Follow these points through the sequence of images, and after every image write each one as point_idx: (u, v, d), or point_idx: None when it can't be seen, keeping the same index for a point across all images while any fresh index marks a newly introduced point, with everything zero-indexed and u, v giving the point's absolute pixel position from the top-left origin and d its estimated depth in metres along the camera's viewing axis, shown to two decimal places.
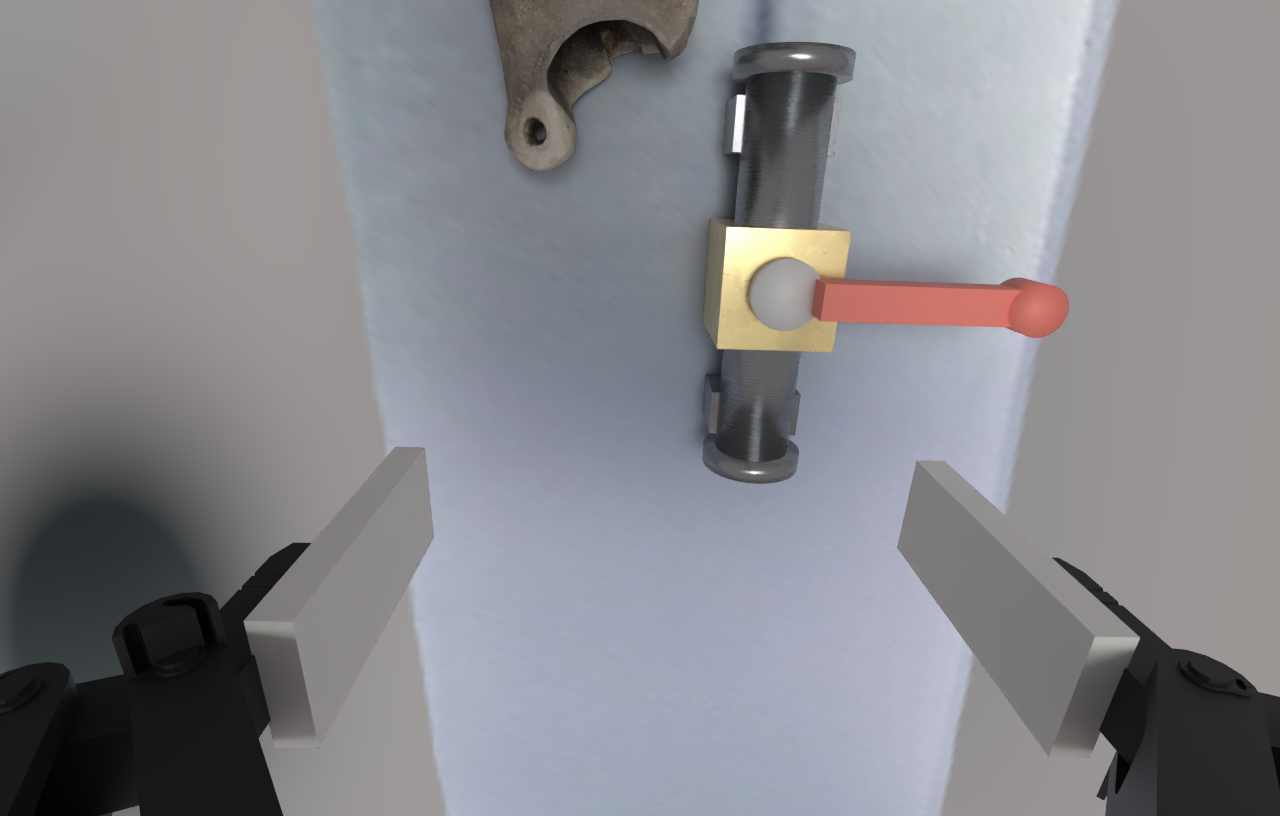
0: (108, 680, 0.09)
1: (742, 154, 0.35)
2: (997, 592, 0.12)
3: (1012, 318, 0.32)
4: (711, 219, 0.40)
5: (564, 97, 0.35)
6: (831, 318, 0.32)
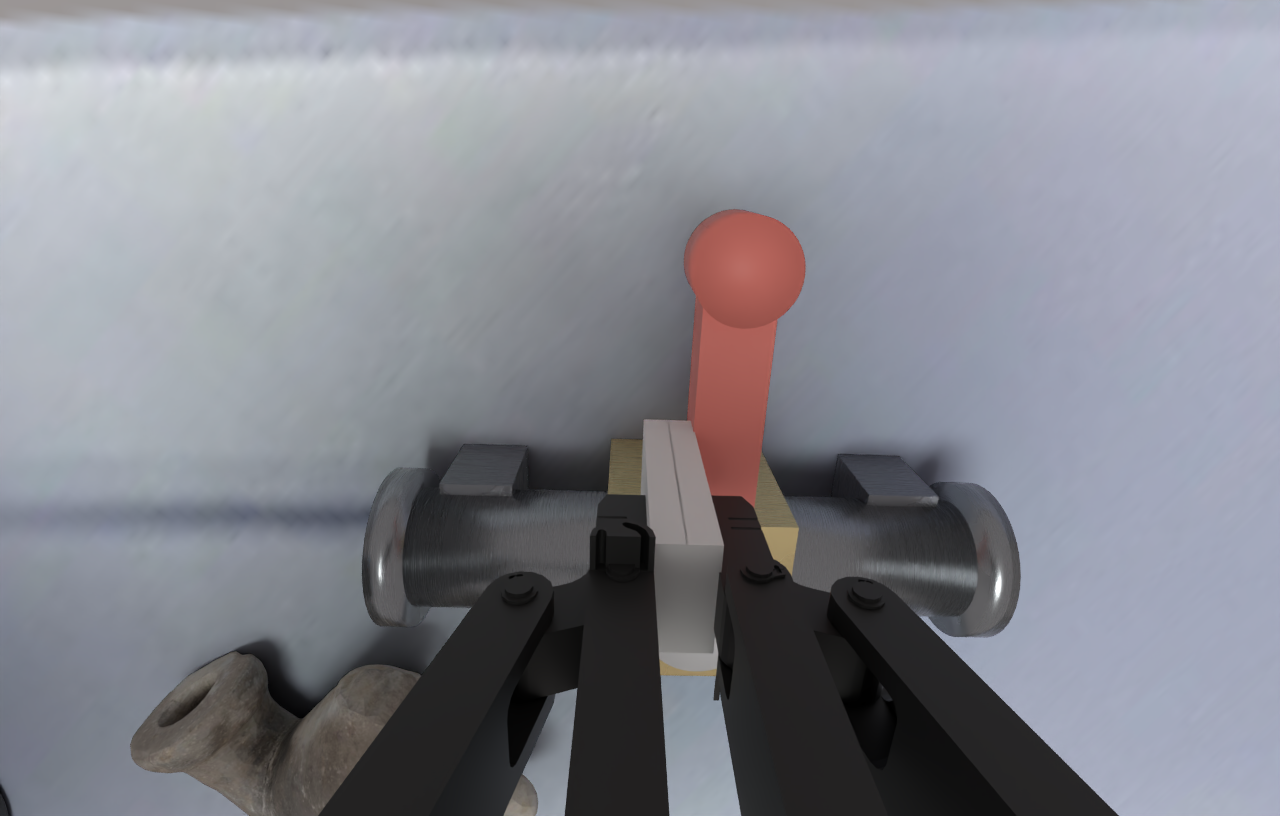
0: (556, 588, 0.11)
1: None
2: None
3: (760, 323, 0.16)
4: None
5: None
6: None
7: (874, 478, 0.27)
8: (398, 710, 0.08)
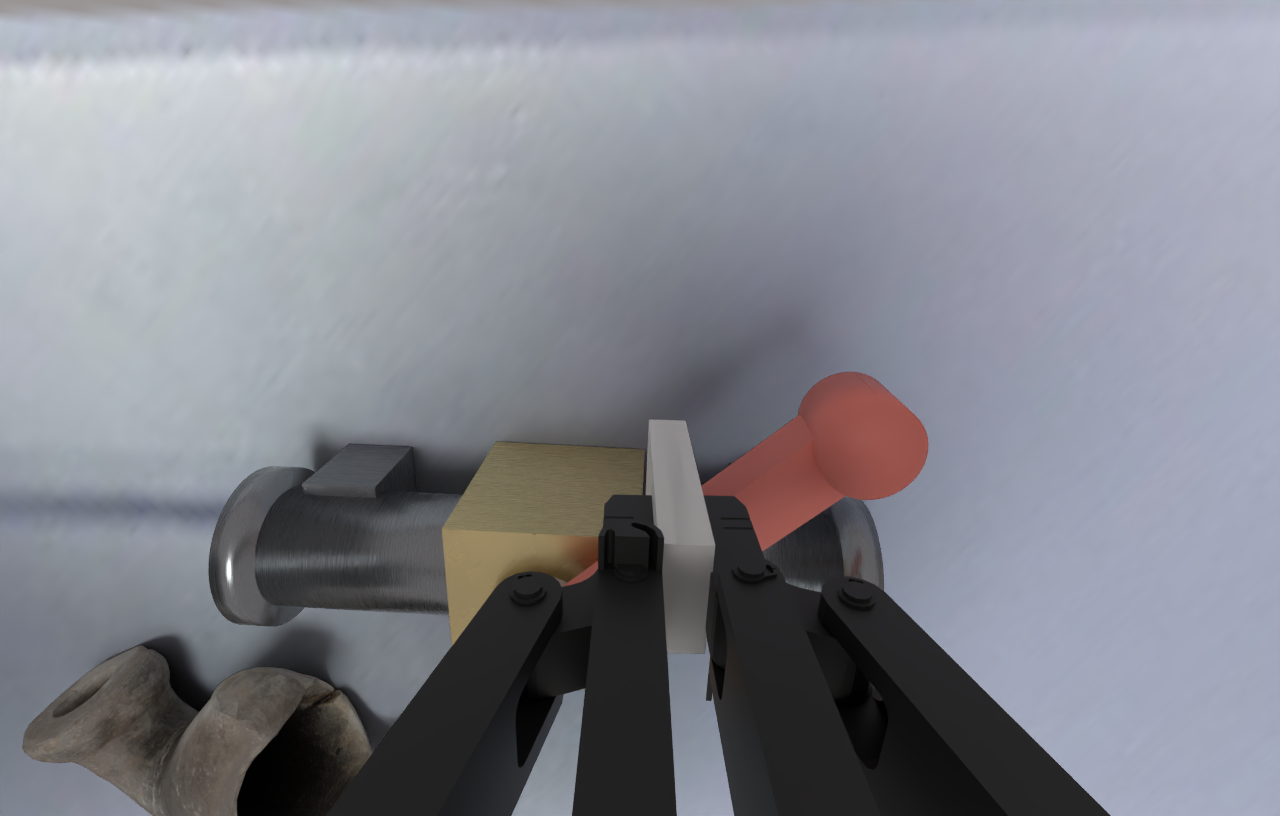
0: (565, 588, 0.11)
1: None
2: None
3: (838, 488, 0.16)
4: None
5: (356, 772, 0.32)
6: None
7: None
8: (407, 709, 0.08)
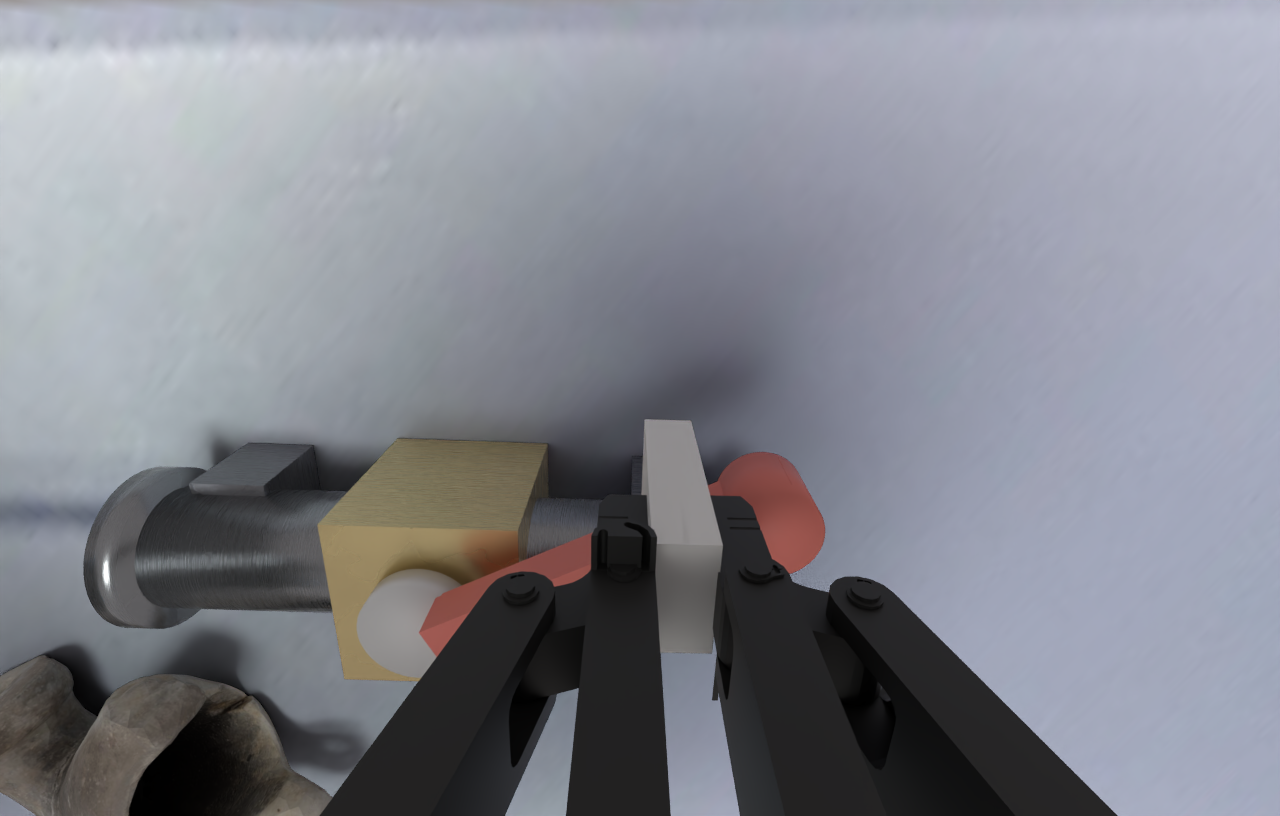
0: (558, 588, 0.11)
1: None
2: None
3: None
4: None
5: (266, 778, 0.32)
6: None
7: None
8: (399, 710, 0.08)
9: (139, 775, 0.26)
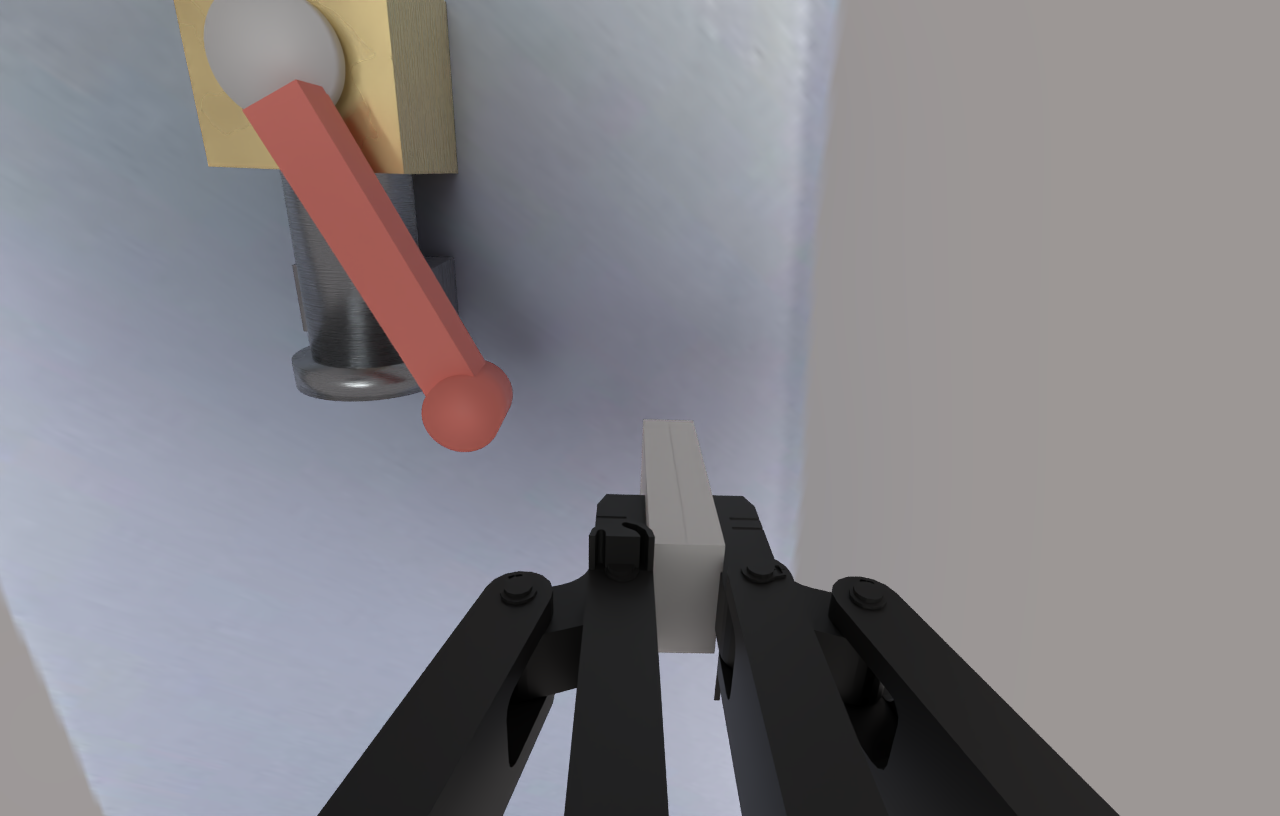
0: (556, 588, 0.11)
1: None
2: None
3: (432, 388, 0.22)
4: None
5: None
6: (258, 126, 0.19)
7: (441, 282, 0.28)
8: (397, 710, 0.08)
9: None
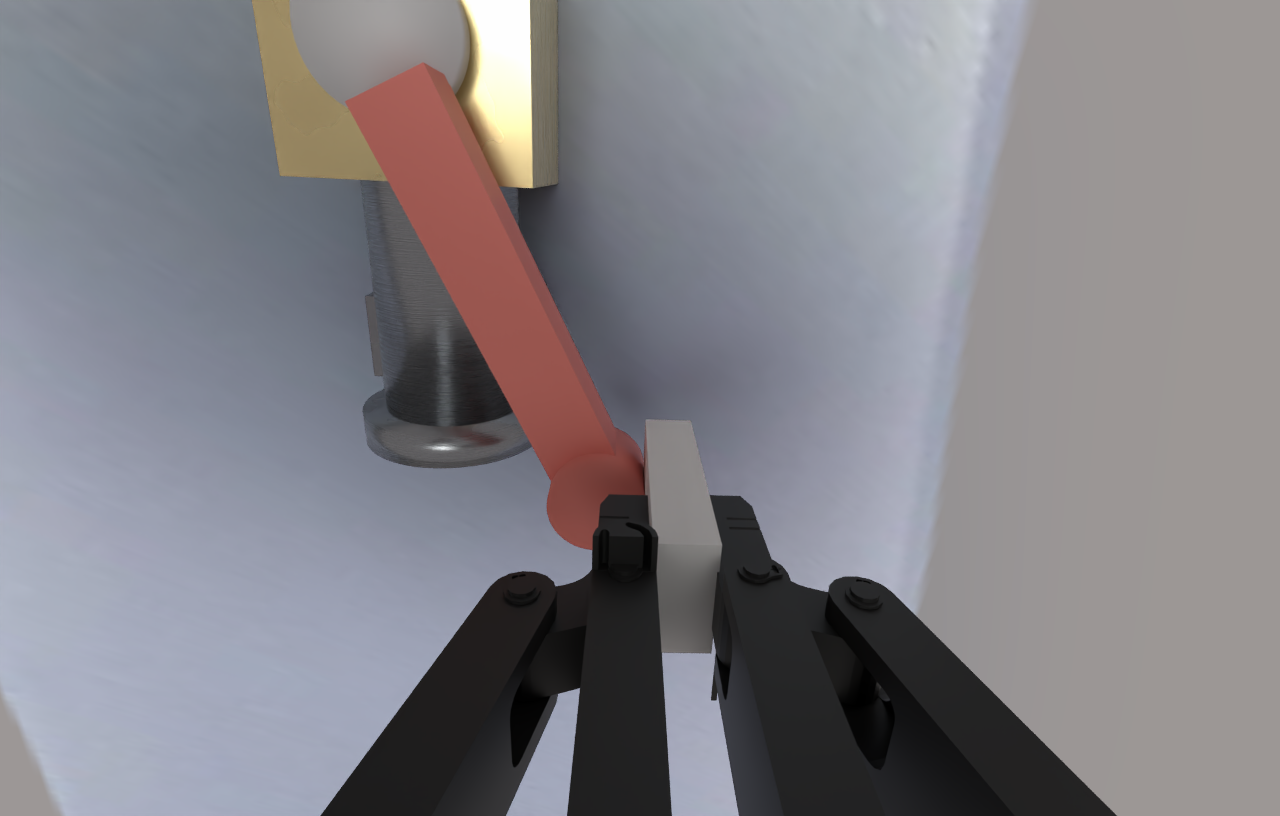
0: (559, 588, 0.11)
1: None
2: None
3: (562, 470, 0.17)
4: None
5: None
6: (365, 123, 0.14)
7: None
8: (401, 710, 0.08)
9: None
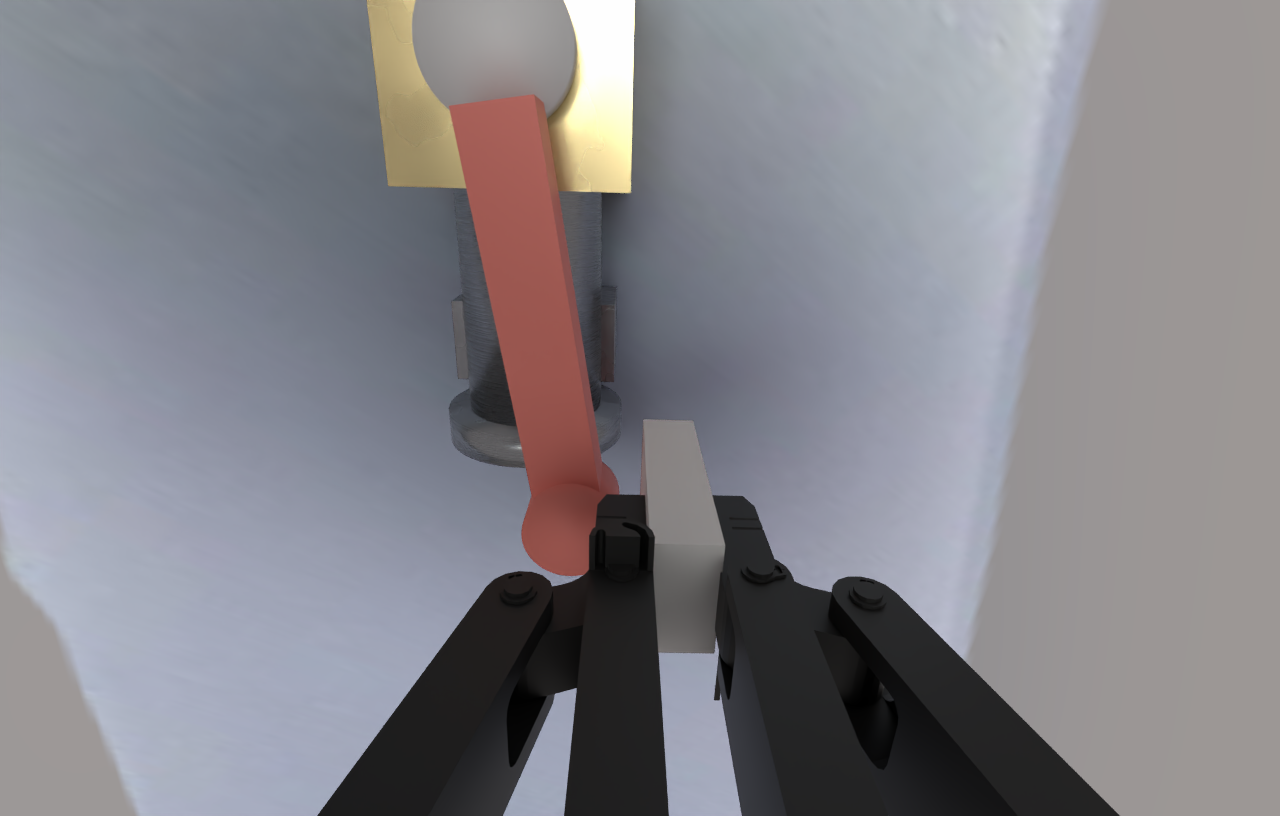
0: (556, 588, 0.11)
1: None
2: None
3: (547, 493, 0.17)
4: None
5: None
6: (461, 131, 0.14)
7: (615, 318, 0.24)
8: (397, 710, 0.08)
9: None
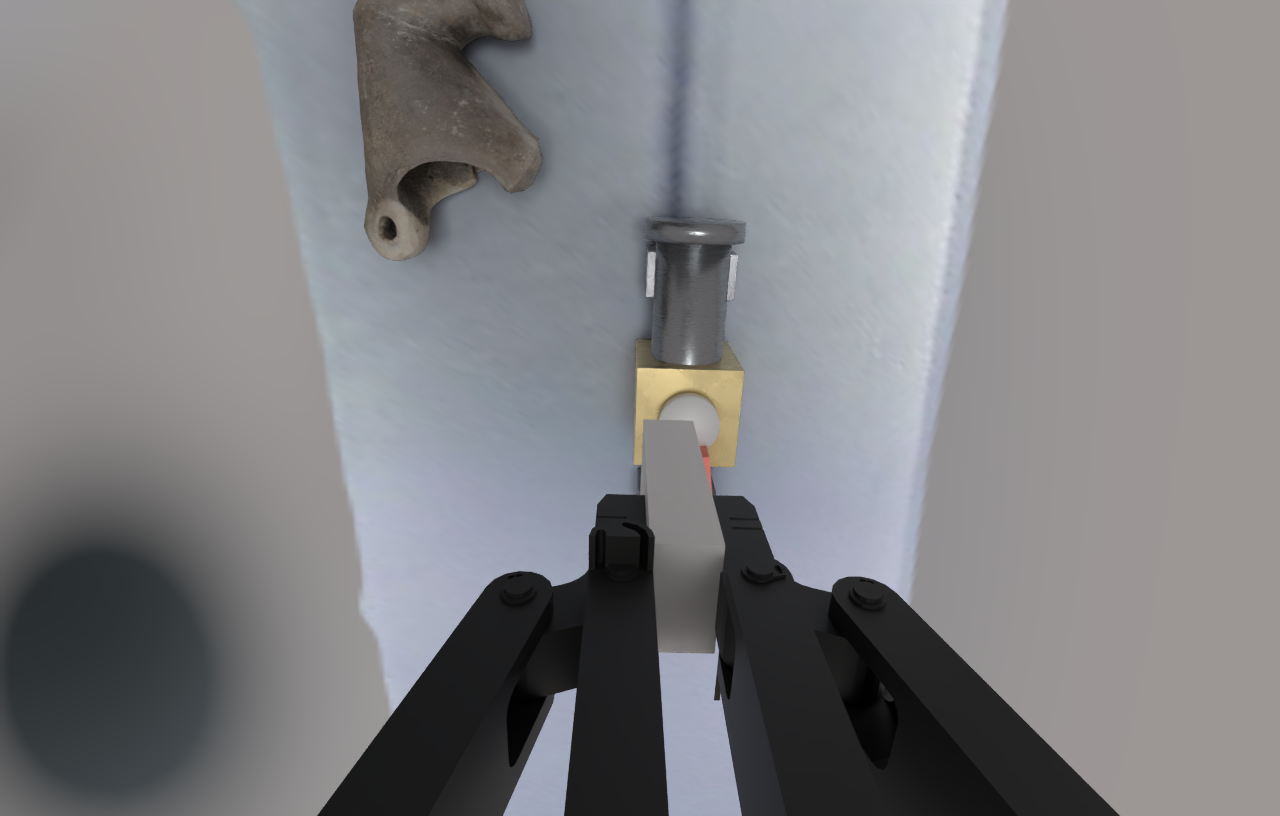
0: (556, 588, 0.11)
1: (654, 300, 0.41)
2: None
3: None
4: (636, 341, 0.45)
5: (423, 201, 0.39)
6: None
7: None
8: (397, 710, 0.08)
9: (489, 172, 0.35)
